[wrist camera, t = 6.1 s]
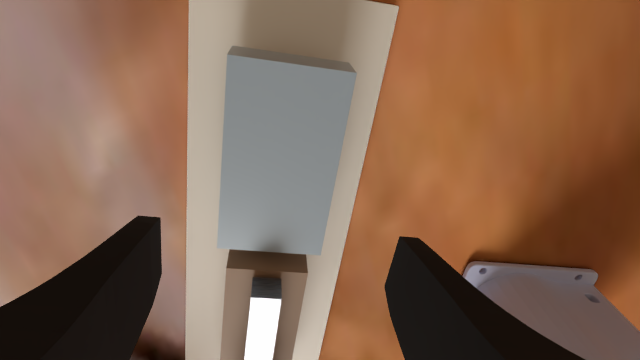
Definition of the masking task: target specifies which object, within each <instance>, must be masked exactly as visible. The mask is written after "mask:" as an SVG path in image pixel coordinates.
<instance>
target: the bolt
mask: <svg viewBox="0 0 640 360" xmlns="http://www.w3.org/2000/svg"><path fill="white" fill-rule="evenodd" d="M281 300H282V288H281V278H266V277H253V278H252V287H251V297H250V306H249V316H248V325H247V334H246V344H245V353H244V360H272V359H273V352H274V346H275V339H276V333H277V326H278V320H279V313H280V307H281Z"/></svg>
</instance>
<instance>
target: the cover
mask: <svg viewBox="0 0 640 360" xmlns="http://www.w3.org/2000/svg"><path fill="white" fill-rule="evenodd" d="M356 75H357V72H356V71H355V70H354V69H353V67H352V66H351V65H350V63H349V62H342V61H335V60H328V59H321V58H315V57H308V56H301V55H294V54H287V53H281V52H274V51H267V50H260V49H253V48H247V47H240V46H233V45H232V47H231V49H230V50H229V52H228V54H227V67H226V86H225V105H224V124H223V143H222V162H221V181H220V200H219V219H218V238H217V248H220V249H235V250H249V251H264V252H278V253H293V254H307V255H321V251H322V246H323V241H324V236H325V231H326V226H327V221H328V216H329V211H330V206H331V201H332V196H333V191H334V186H335V181H336V176H337V171H338V166H339V161H340V156H341V151H342V145H343V140H344V135H345V130H346V125H347V120H348V115H349V110H350V105H351V100H352V95H353V90H354V85H355V80H356Z"/></svg>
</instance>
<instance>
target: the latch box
mask: <svg viewBox="0 0 640 360" xmlns="http://www.w3.org/2000/svg"><path fill="white" fill-rule="evenodd" d="M398 10H399V6H397V5H392V4H386V3H381V2H375V1H369V0H189V41H188V140H187V239H186V337H185V360H244V353H245V344H246V334H247V325H248V316H249V306H250V297H251V287H252V278H253V277H266V278H281V288H282V300H281V307H280V313H279V320H278V326H277V333H276V339H275V346H274V352H273V359H272V360H318V359H319V354H320V350H321V346H322V341H323V337H324V332H325V328H326V324H327V319H328V315H329V311H330V306H331V302H332V298H333V293H334V289H335V284H336V280H337V276H338V271H339V267H340V263H341V258H342V254H343V250H344V245H345V241H346V236H347V232H348V228H349V223H350V219H351V215H352V210H353V206H354V202H355V197H356V193H357V188H358V184H359V180H360V175H361V171H362V167H363V162H364V158H365V154H366V149H367V145H368V140H369V136H370V132H371V127H372V123H373V119H374V114H375V110H376V106H377V101H378V97H379V92H380V88H381V84H382V79H383V75H384V71H385V66H386V62H387V58H388V53H389V49H390V44H391V40H392V36H393V31H394V27H395V23H396V18H397V14H398ZM232 45H233V46H240V47H247V48H253V49H260V50H267V51H274V52H281V53H287V54H294V55H301V56H308V57H315V58H321V59H328V60H335V61H342V62H349V63H350V65H351V66H352V67H353V69H354V70H355V71H356V72H357V75H356V80H355V85H354V90H353V95H352V100H351V105H350V110H349V115H348V120H347V125H346V130H345V135H344V140H343V145H342V151H341V156H340V161H339V166H338V171H337V176H336V181H335V186H334V191H333V196H332V201H331V206H330V211H329V216H328V221H327V226H326V231H325V236H324V241H323V246H322V251H321V255H307V254H293V253H278V252H264V251H249V250H235V249H220V248H217V238H218V219H219V200H220V181H221V162H222V143H223V124H224V105H225V86H226V67H227V54H228V52H229V50H230V49H231V47H232Z"/></svg>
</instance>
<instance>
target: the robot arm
mask: <svg viewBox="0 0 640 360" xmlns="http://www.w3.org/2000/svg"><path fill="white" fill-rule="evenodd" d="M482 268H483V269H482ZM480 269H482V270H480ZM161 274H162V265H161V226H160V218H159V217H147V216H137V217H136V218H134V219H133V220H132V221H130V222H129V223H128V224H126V225H125V226H124V227H123V228H121V229H120V230H119V231H117V232H116V233H115V234H114V235H112V236H111V237H110V238H108V239H107V240H106V241H104V242H103V243H102V244H100V245H99V246H98V247H96V248H95V249H94V250H92V251H91V252H90V253H88V254H87V255H86V256H84V257H83V258H81V259H80V260H78V261H77V262H75V263H74V264H72V265H71V266H69V267H68V268H66V269H65V270H63V271H62V272H61V273H59V274H58V275H56V276H54V277H53V278H51V279H50V280H48V281H46V282H45V283H43V284H41V285H40V286H38V287H36V288H35V289H33V290H31V291H29V292H27V293H26V294H24V295H22V296H20V297H18V298H17V299H15V300H13V301H11V302H9V303H7V304H5V305H3V306H1V307H0V360H129V359H130V357H131V355H132V352H133V350H134V348H135V345H136V343H137V341H138V338H139V336H140V334H141V331H142V329H143V327H144V324H145V322H146V320H147V317H148V315H149V313H150V310H151V308H152V305H153V302H154V299H155V296H156V292H157V289H158V285H159V281H160V278H161ZM597 279H598V274H597V273H596V272H595V271H594V270H592V269H580V268H566V267H552V266H538V265H523V264H509V263H495V262H481V261H473V262H470V263H469V264H468V265H467V267H466V269H465V272H464V274H463V276H461V275H460V274H459V273H458V272H457V271H456V270H455V269H453V268H452V267H451V266H450V265H449V264H448V263H447V262H446V261H444V260H443V259H442V258H441V257H440V256H439V255H438V254H437V253H436V252H434V251H433V250H432V249H431V248H430V247H429V246H428V245H426V244H425V243H424V242H423V241H421V240H420V239H419V238H413V237H399V240H398V243H397V247H396V250H395V253H394V257H393V260H392V263H391V267H390V270H389V273H388V277H387V280H386V283H385V292H386V297H387V303H388V308H389V312H390V317H391V320H392V323H393V326H394V329H395V332H396V335H397V338H398V341H399V344H400V347H401V350H402V352H403V355H404V358H405V360H640V331H639V330H638V329H637V328H636V327H635V326H634V325H633V324H632V323H631V322H630V321H629V320H628V319H627V318H626V317H625V316H624V315H623V314H622V313H621V312H620V311H619V310H618V309H617V308H616V307H615V306H614V305H613V304H612V303H611V302H610V301H609V300H608V299H607V298H606V297H605V296H604V295H603V294H602V293H601V292H600V291H599V290H598V289H597V288H596V287H595V286H594V284H595V282H596V280H597Z"/></svg>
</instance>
